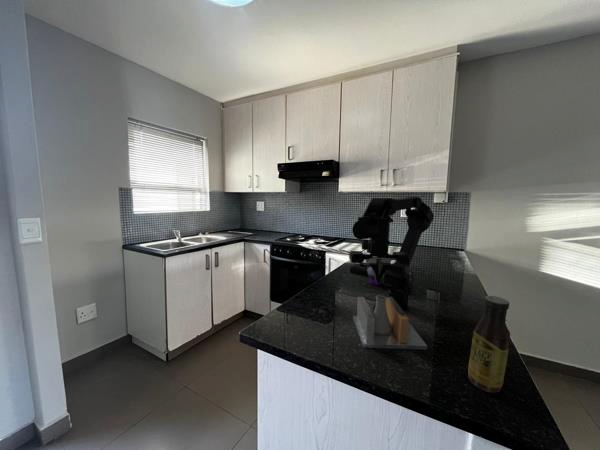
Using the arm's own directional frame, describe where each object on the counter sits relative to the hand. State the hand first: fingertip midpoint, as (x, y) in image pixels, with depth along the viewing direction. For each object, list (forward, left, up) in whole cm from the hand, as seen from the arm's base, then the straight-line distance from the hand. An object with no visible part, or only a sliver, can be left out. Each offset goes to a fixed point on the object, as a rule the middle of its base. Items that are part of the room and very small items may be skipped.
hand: (377, 282), depth 84 cm
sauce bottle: (-16, +30, -12) cm, 36 cm away
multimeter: (-10, -46, -13) cm, 49 cm away
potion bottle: (-8, -31, -12) cm, 34 cm away
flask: (+1, +10, -11) cm, 15 cm away
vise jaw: (-3, +10, -11) cm, 15 cm away
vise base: (-1, +10, -12) cm, 16 cm away
